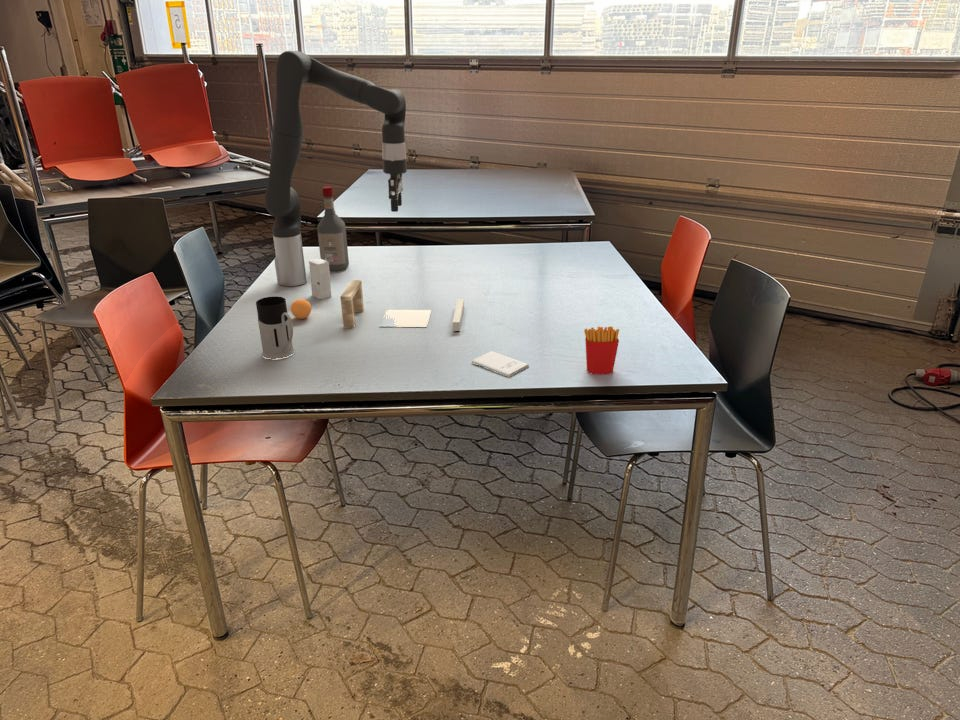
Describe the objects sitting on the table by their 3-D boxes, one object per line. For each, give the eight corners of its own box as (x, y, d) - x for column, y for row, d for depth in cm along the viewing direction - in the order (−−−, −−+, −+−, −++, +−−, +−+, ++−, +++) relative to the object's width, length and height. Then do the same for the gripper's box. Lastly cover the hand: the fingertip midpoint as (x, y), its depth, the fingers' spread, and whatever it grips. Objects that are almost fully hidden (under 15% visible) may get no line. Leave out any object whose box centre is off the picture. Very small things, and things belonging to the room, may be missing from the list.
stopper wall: (452, 331, 192) (452, 322, 191) (457, 307, 210) (457, 298, 209) (459, 331, 192) (459, 322, 191) (464, 307, 210) (463, 298, 209)
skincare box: (311, 295, 222) (307, 260, 217) (323, 292, 225) (319, 257, 219) (321, 300, 218) (317, 264, 213) (333, 296, 220) (329, 261, 215)
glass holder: (285, 344, 185) (278, 293, 179) (311, 359, 176) (304, 306, 169) (256, 353, 180) (247, 301, 173) (281, 369, 170) (273, 315, 164)
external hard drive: (492, 356, 178) (528, 369, 171) (471, 365, 173) (508, 379, 165) (492, 350, 178) (529, 363, 170) (471, 360, 172) (508, 373, 165)
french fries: (614, 367, 170) (617, 323, 164) (617, 374, 166) (620, 330, 161) (580, 367, 170) (583, 324, 164) (583, 374, 166) (586, 330, 161)
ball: (289, 321, 200) (287, 302, 198) (295, 314, 206) (293, 296, 203) (309, 321, 200) (306, 303, 198) (314, 314, 206) (312, 296, 203)
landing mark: (379, 327, 196) (379, 326, 196) (387, 310, 208) (387, 309, 208) (426, 327, 195) (426, 327, 195) (431, 310, 208) (431, 310, 208)
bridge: (343, 327, 196) (340, 296, 192) (354, 309, 209) (351, 280, 205) (353, 327, 196) (350, 296, 191) (363, 309, 209) (361, 280, 205)
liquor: (345, 272, 245) (337, 189, 232) (320, 272, 245) (311, 189, 233) (350, 264, 253) (342, 184, 241) (326, 264, 254) (317, 185, 241)
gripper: (386, 153, 217) (388, 203, 224) (378, 160, 204) (381, 213, 211) (408, 154, 217) (410, 204, 224) (403, 160, 204) (405, 213, 211)
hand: (396, 208), depth 218 cm, fingers open, 8 cm apart
